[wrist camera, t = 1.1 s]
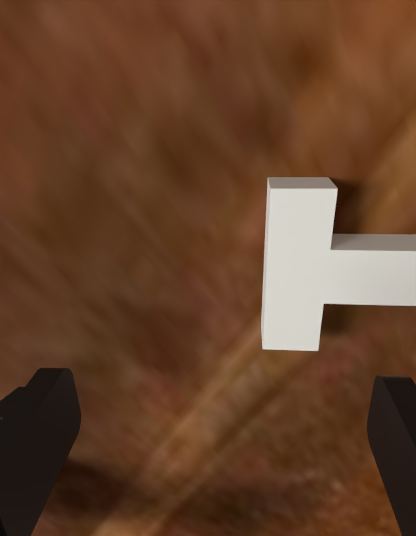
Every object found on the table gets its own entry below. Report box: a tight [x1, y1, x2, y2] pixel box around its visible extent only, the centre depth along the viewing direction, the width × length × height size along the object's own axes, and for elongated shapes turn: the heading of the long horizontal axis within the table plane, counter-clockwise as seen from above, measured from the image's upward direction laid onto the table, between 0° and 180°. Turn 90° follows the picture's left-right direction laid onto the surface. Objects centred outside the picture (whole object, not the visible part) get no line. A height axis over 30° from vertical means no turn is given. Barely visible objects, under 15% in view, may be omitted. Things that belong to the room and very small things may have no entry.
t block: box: [261, 177, 416, 351], centre depth 28 cm, size 12×12×3 cm
